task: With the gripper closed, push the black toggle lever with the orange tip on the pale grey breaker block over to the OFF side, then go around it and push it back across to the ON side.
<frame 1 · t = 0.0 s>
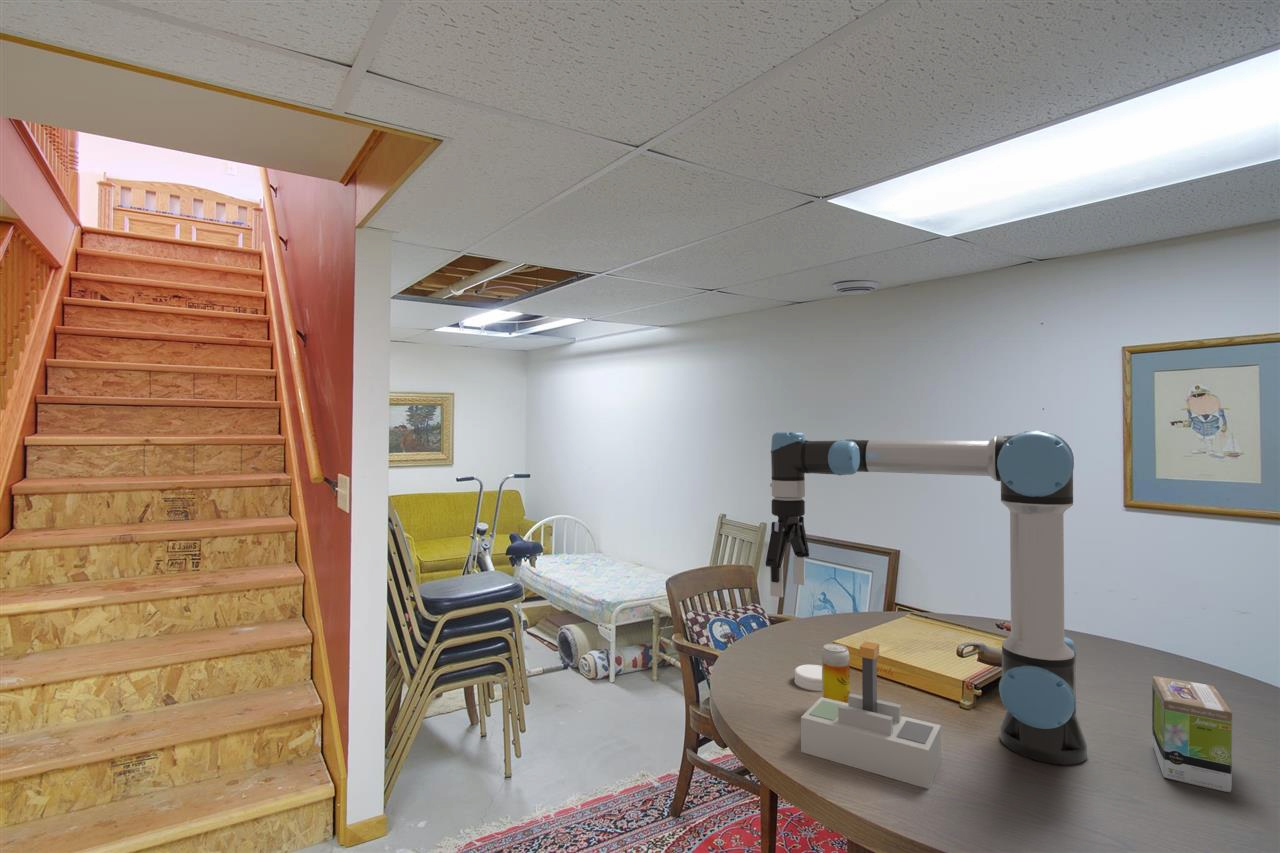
hand: (788, 590, 149), 28 cm above the table, fingers open, 13 cm apart
beer can: (835, 713, 148), on the table
coaster: (814, 685, 165), on the table
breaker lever: (869, 680, 128), point 15 cm above the table, hinge at 0.0°
tea box: (1189, 769, 123), on the table
breaker block: (870, 756, 128), on the table
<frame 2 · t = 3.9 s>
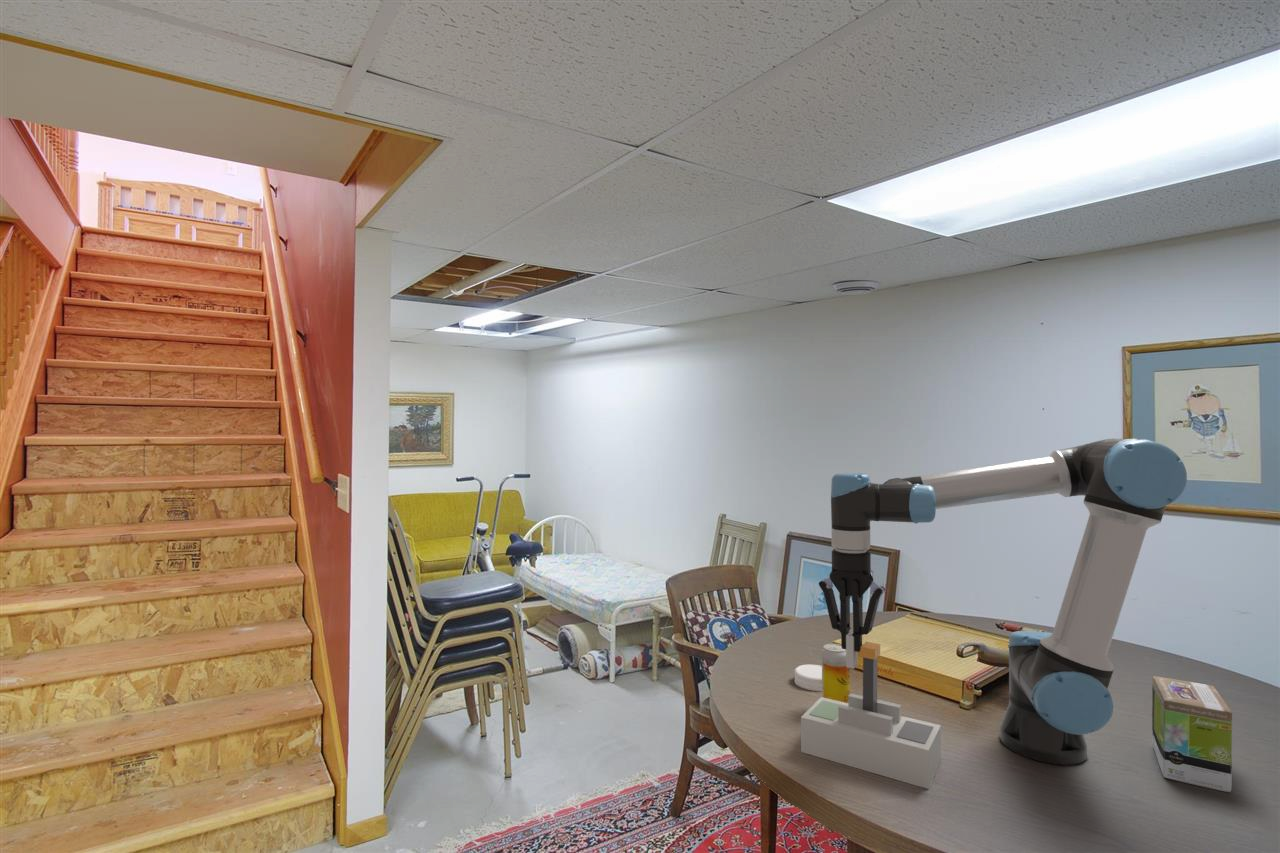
hand: (851, 666, 130), 17 cm above the table, fingers closed
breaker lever: (870, 680, 128), point 15 cm above the table, hinge at -0.8°, touching gripper
everything else where it was.
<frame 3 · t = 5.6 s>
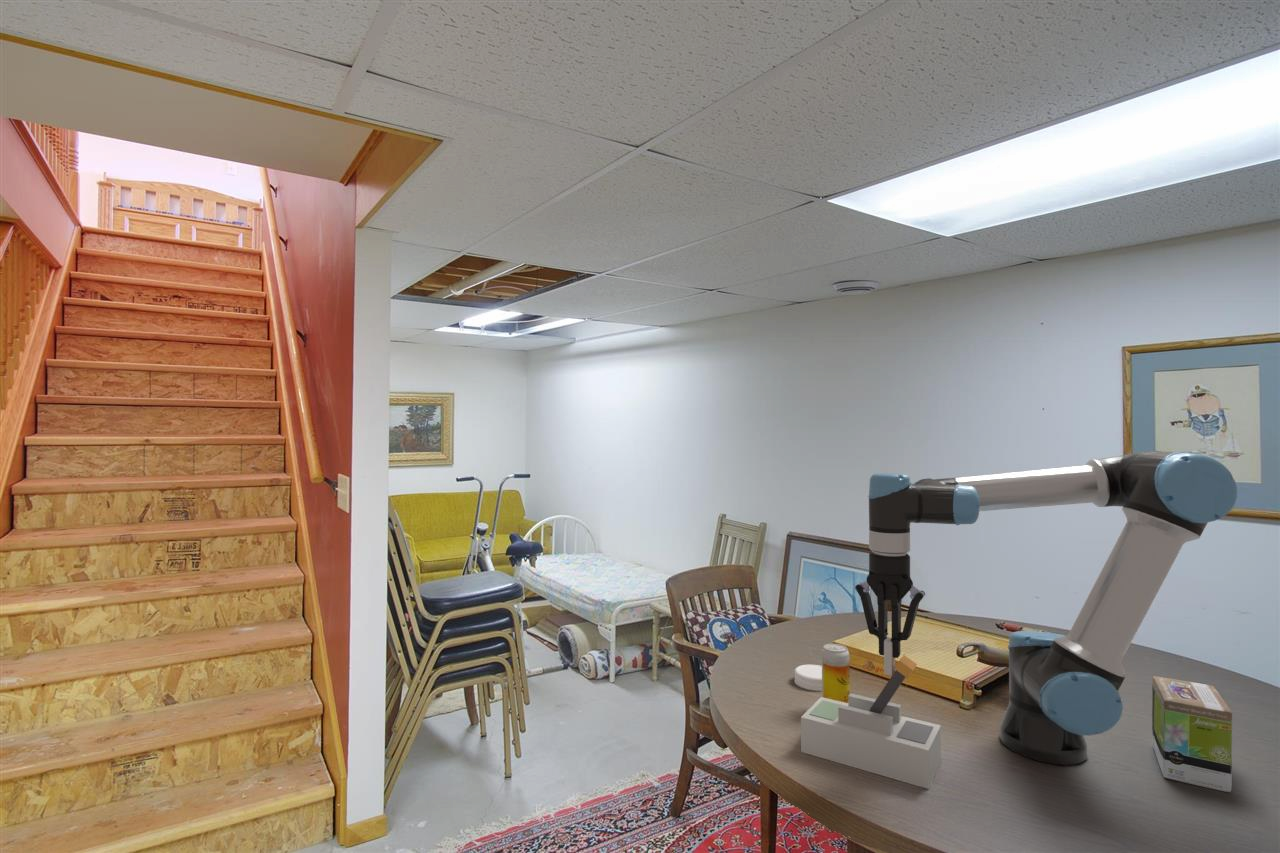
hand: (889, 672, 126), 17 cm above the table, fingers closed
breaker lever: (889, 689, 126), point 14 cm above the table, hinge at -29.7°, touching gripper
everything else where it was.
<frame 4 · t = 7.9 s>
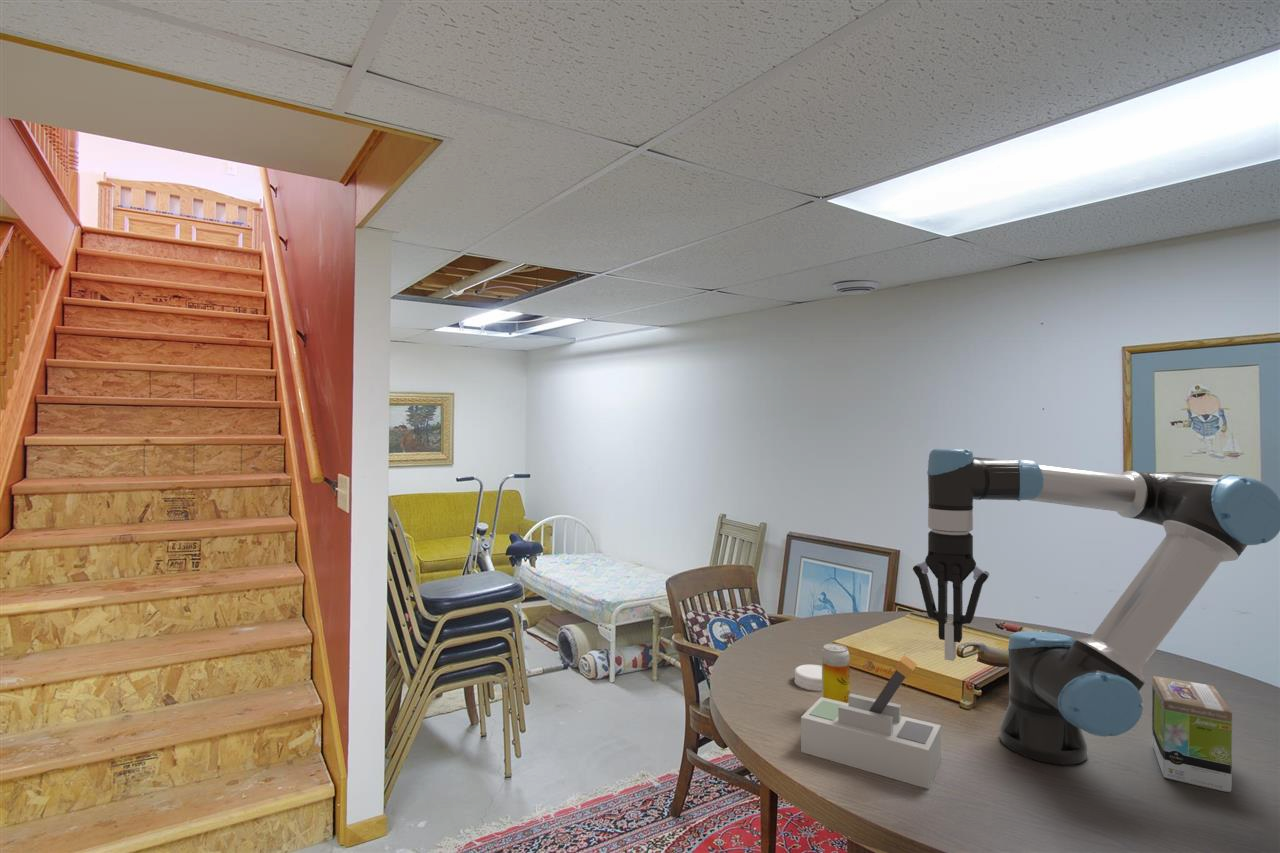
hand: (950, 658, 120), 23 cm above the table, fingers closed
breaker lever: (889, 690, 126), point 14 cm above the table, hinge at -29.8°
everything else where it was.
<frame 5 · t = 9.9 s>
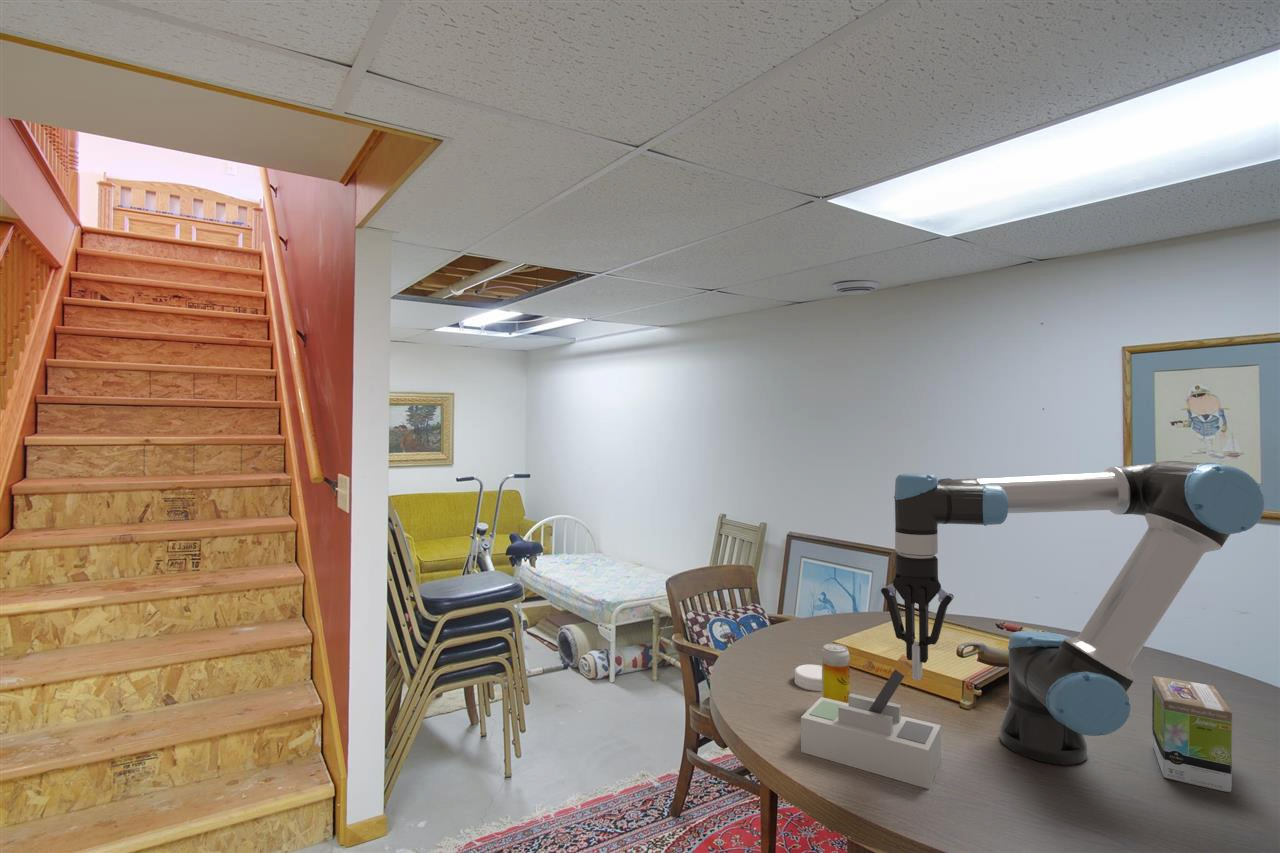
hand: (917, 677, 123), 18 cm above the table, fingers closed
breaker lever: (889, 689, 126), point 14 cm above the table, hinge at -28.7°, touching gripper
everything else where it was.
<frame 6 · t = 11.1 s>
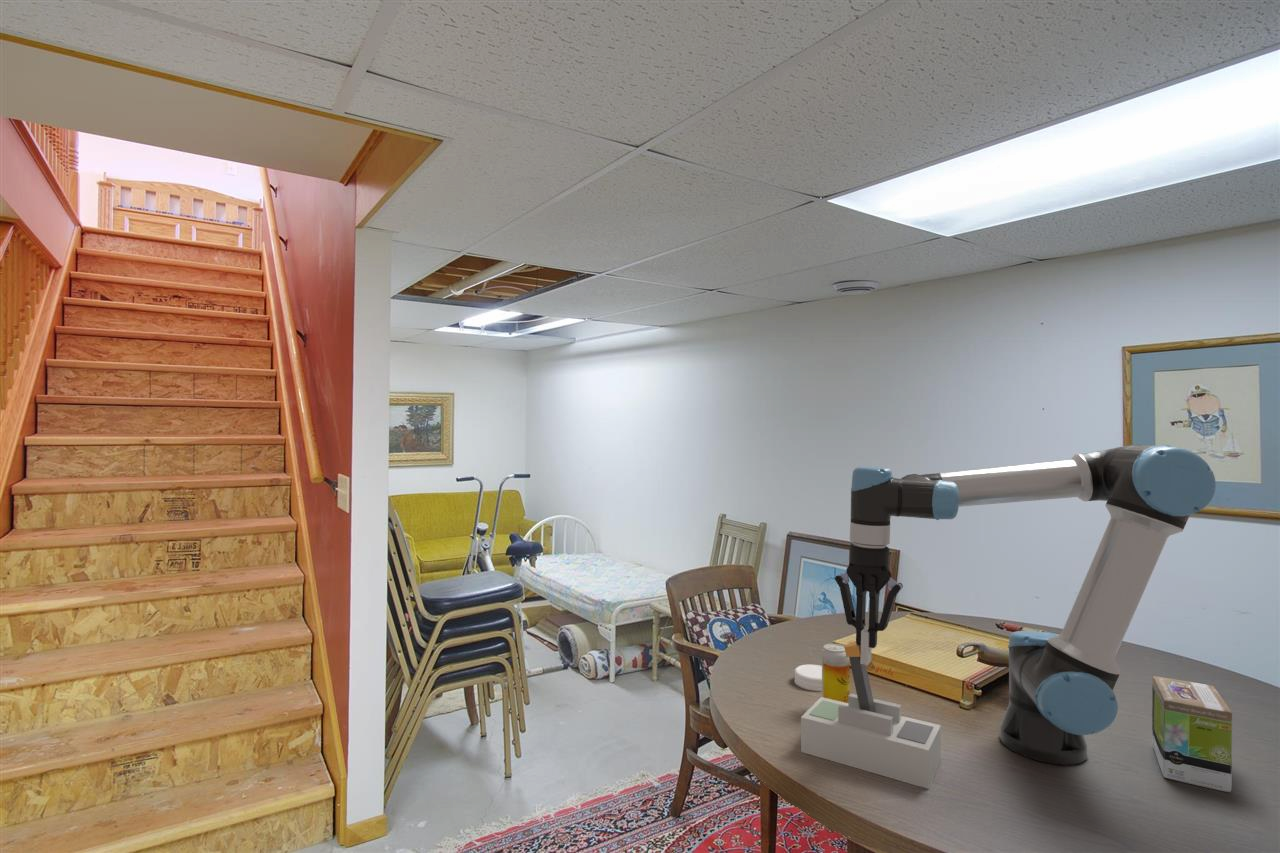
hand: (865, 662, 129), 19 cm above the table, fingers closed
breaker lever: (861, 679, 129), point 15 cm above the table, hinge at 12.0°, touching gripper
everything else where it was.
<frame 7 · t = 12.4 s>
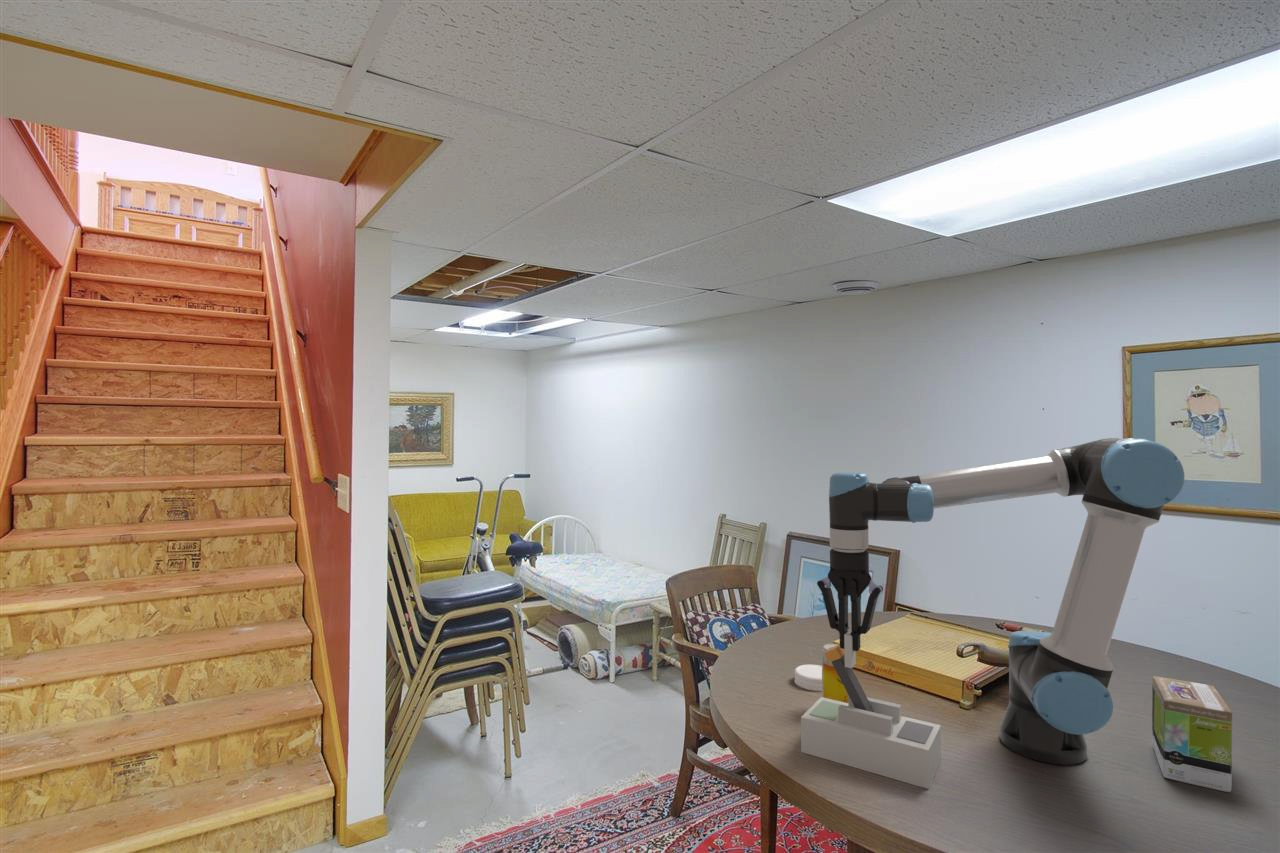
hand: (850, 665, 130), 17 cm above the table, fingers closed
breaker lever: (850, 681, 131), point 14 cm above the table, hinge at 29.9°, touching gripper
everything else where it was.
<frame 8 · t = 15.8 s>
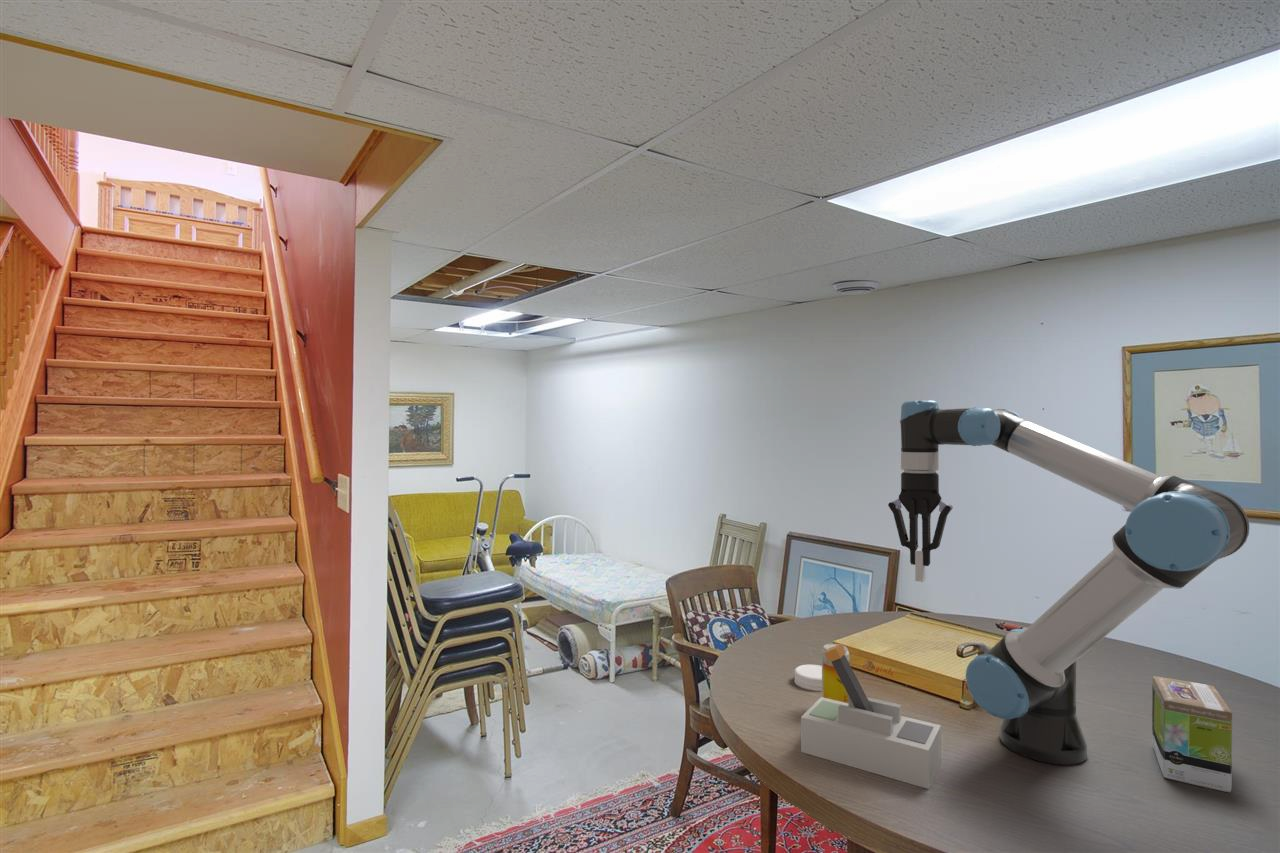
hand: (920, 580, 140), 32 cm above the table, fingers closed
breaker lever: (850, 681, 131), point 14 cm above the table, hinge at 30.0°
everything else where it was.
at the end: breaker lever at +30° (first picture: +0°) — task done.
